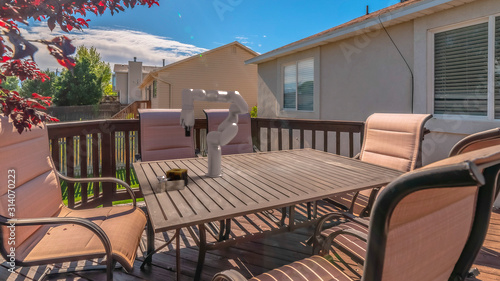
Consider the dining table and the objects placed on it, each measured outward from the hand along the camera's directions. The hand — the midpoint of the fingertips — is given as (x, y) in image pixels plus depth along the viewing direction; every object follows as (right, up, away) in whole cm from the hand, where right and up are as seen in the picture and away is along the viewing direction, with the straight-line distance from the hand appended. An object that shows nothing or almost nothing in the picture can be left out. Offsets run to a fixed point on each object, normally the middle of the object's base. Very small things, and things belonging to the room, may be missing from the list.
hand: (187, 136), depth 187 cm
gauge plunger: (-9, -26, -21) cm, 35 cm away
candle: (-4, -31, -10) cm, 33 cm away
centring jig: (-8, -31, -19) cm, 38 cm away
